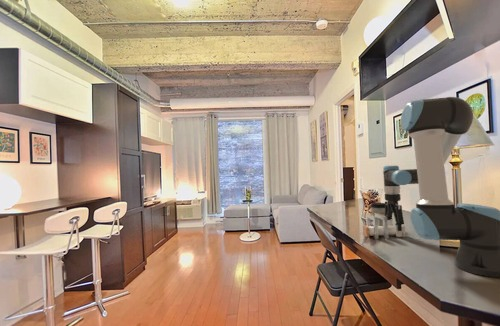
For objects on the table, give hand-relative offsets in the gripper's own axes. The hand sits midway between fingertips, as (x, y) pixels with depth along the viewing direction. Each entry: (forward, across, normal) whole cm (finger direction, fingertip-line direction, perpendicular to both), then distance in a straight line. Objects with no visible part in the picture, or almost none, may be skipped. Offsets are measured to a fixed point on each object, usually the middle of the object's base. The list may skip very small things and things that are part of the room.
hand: (394, 233), depth 132 cm
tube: (+1, -1, +6) cm, 6 cm away
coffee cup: (+1, +16, +1) cm, 16 cm away
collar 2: (+1, -1, +7) cm, 7 cm away
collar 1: (+1, -1, +12) cm, 12 cm away
